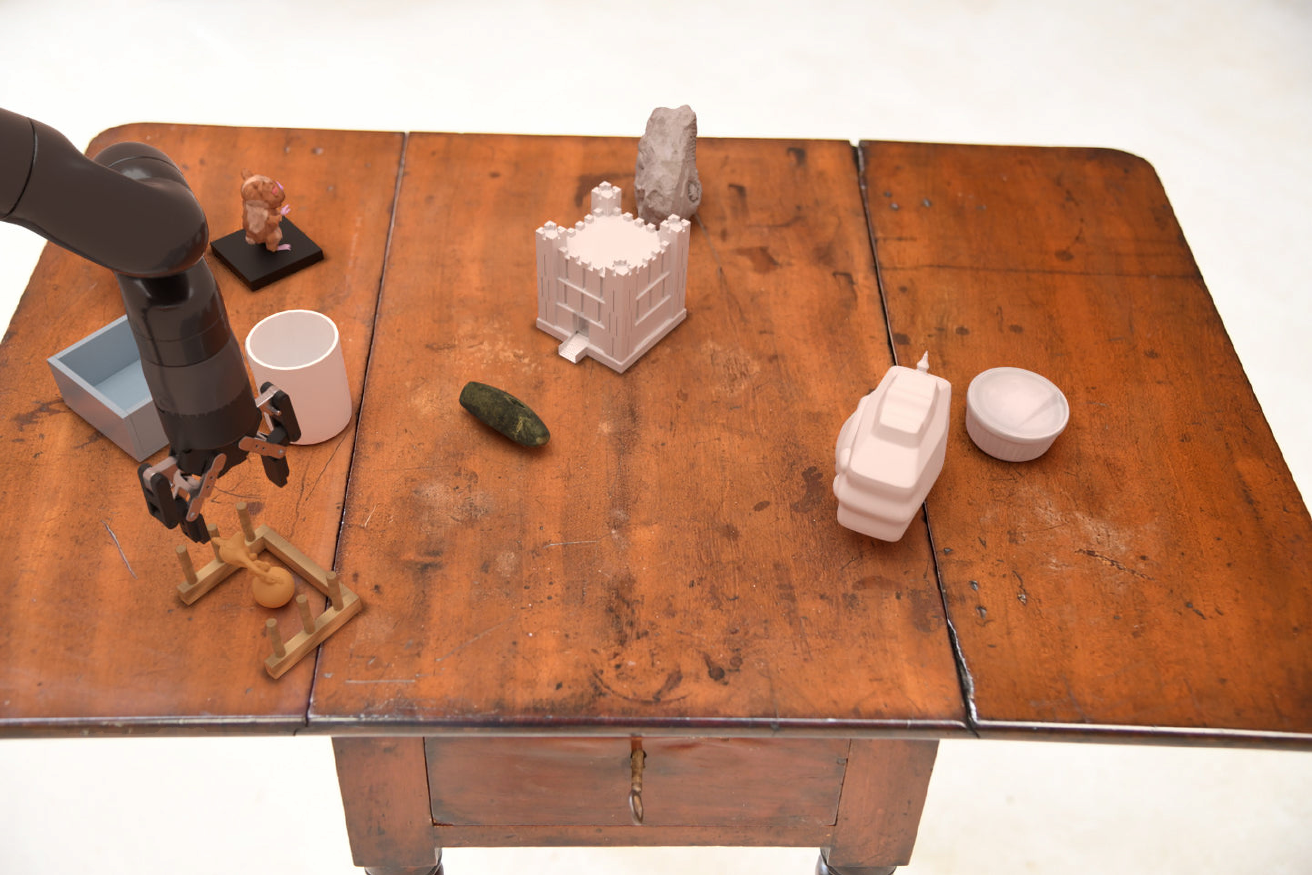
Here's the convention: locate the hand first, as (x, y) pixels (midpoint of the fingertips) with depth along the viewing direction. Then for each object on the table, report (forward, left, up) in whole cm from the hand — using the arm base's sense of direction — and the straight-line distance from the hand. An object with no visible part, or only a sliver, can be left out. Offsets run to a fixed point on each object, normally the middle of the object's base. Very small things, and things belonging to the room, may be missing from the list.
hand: (239, 509), depth 113 cm
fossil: (+76, +11, -15) cm, 78 cm away
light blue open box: (+10, +32, -14) cm, 36 cm away
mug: (+19, +18, -15) cm, 30 cm away
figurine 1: (+35, +43, -15) cm, 57 cm away
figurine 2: (0, 0, -15) cm, 15 cm away
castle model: (+53, +2, -15) cm, 55 cm away
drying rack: (0, 0, -14) cm, 14 cm away
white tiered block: (+51, -38, -15) cm, 65 cm away
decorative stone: (+32, -1, -15) cm, 35 cm away
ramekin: (+69, -44, -15) cm, 83 cm away
